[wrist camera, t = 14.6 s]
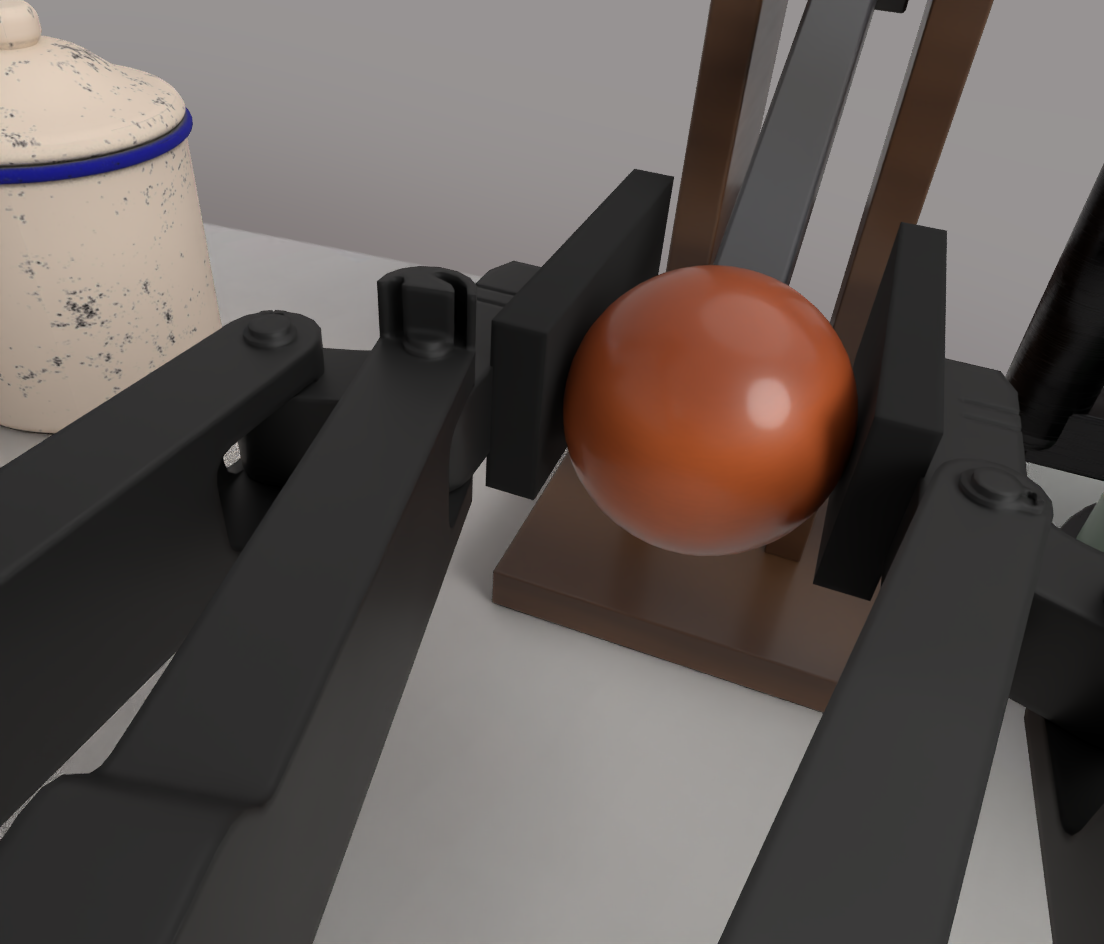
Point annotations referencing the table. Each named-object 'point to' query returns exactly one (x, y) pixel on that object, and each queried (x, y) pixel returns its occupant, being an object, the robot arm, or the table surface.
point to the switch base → (895, 196)
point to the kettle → (1069, 367)
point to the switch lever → (731, 345)
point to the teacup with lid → (91, 228)
